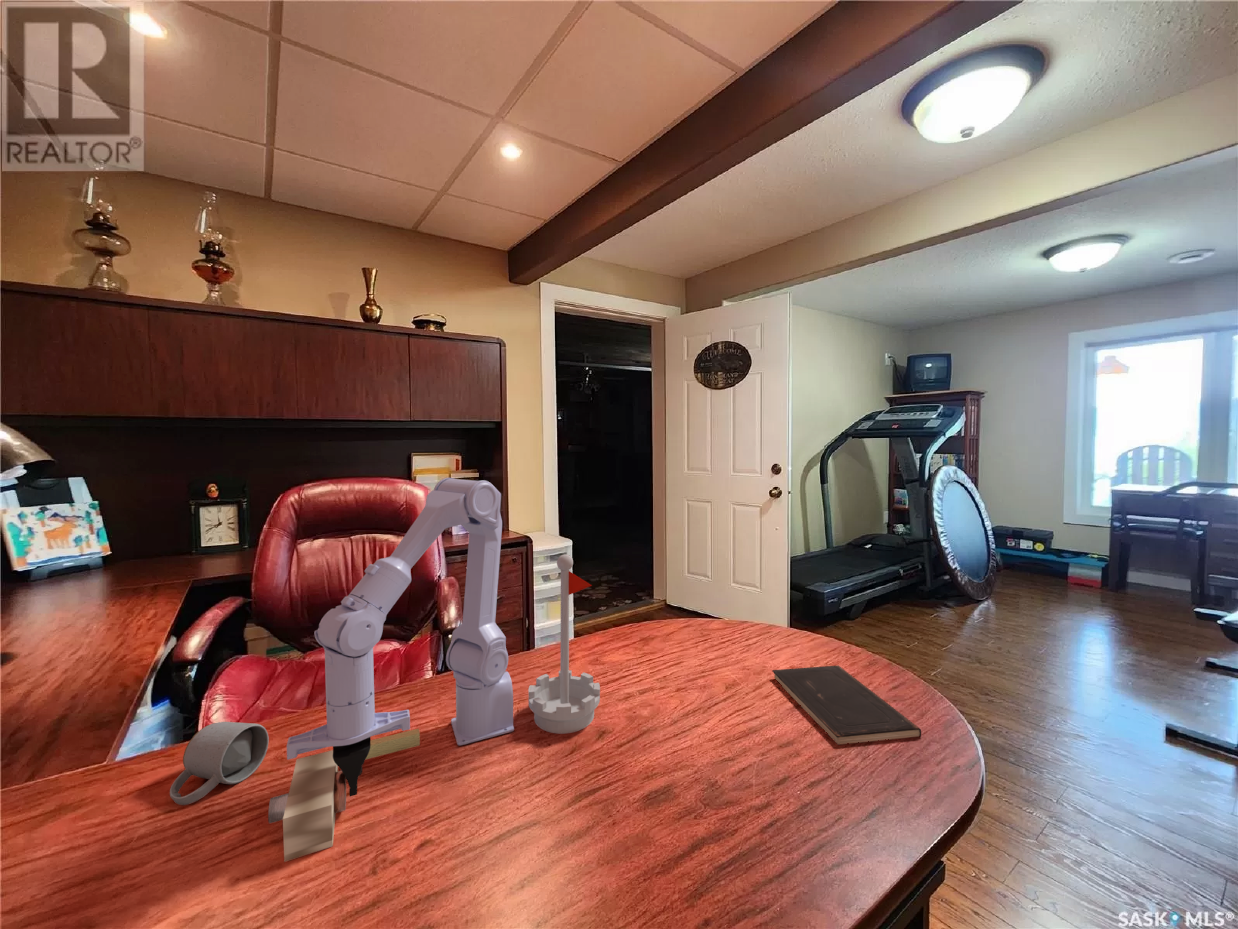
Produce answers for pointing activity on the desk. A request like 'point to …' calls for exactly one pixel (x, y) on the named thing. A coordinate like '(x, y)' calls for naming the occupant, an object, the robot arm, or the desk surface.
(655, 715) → the desk surface
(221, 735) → the ceramic mug
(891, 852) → the desk surface
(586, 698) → the flag stand
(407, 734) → the bar
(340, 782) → the pin
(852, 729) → the hardcover book
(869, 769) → the desk surface
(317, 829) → the hitch block
